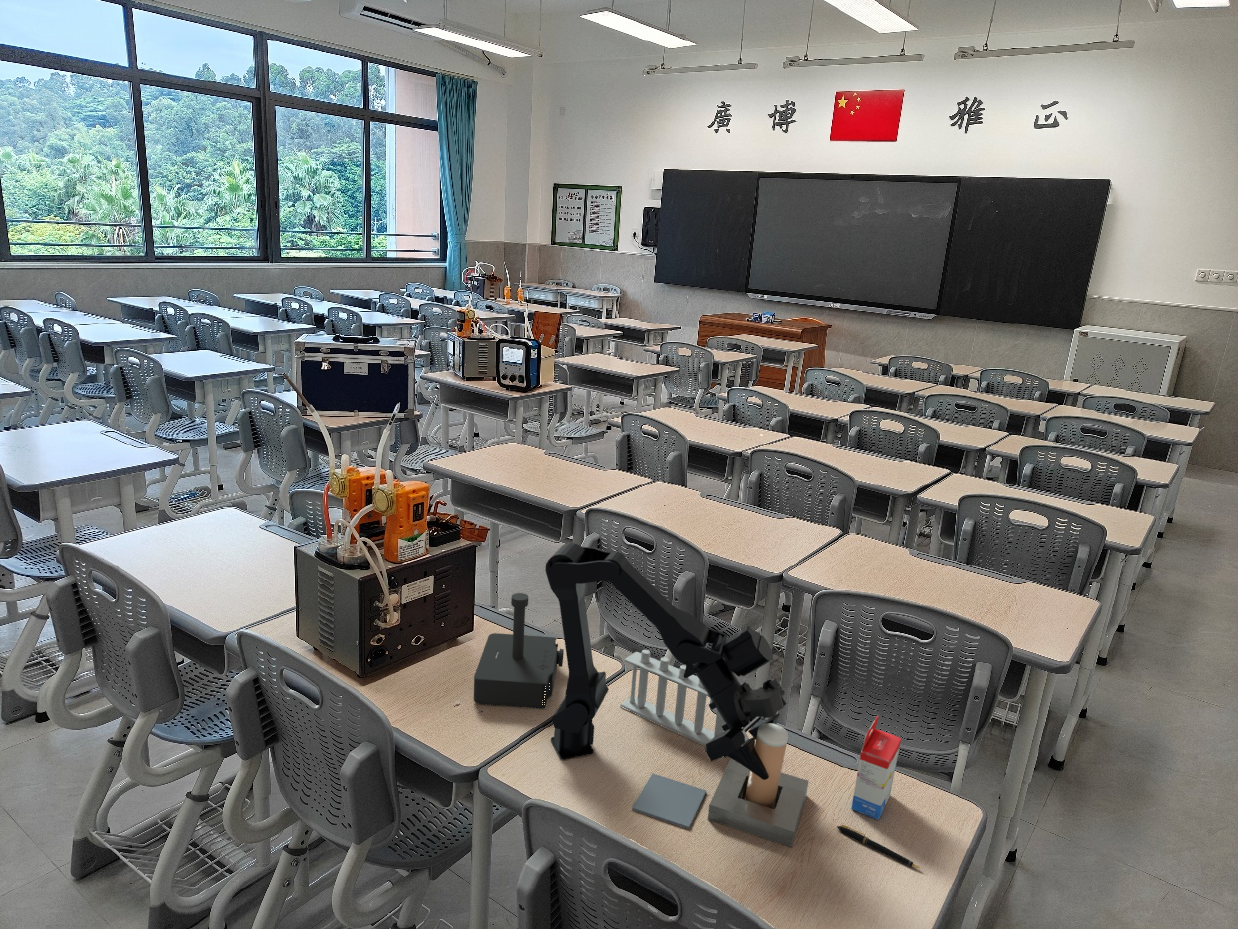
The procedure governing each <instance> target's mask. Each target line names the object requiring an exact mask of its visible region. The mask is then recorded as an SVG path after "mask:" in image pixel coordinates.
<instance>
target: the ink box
mask: <svg viewBox="0 0 1238 929" xmlns="http://www.w3.org/2000/svg"><path fill="white" fill-rule="evenodd" d="M879 718H880V717H879V715H877V716H876V717H875V719H874V721H873V722H872V724H871V725H870V727H869V729H868V730H867V732H866V733H865V735H864V739H863V742H862V746H861V751H860V756H859V761H858V762H859V763H858V767H857V774H856V780H855V786H854V789H853V790H854V791H853V797H852V803H851V808H850V809H851V810H853V811H855V812H858V813H861V814H863V815H865V816H868V817H870V818H873V819H875V820H877V821H879V820H880V817H881V815H882V813H883V811H884V809H885V807H886V805H887V802H888V801H889V798H890V797H891V794H892V787H893V783H894V778H895V772H896V767H897V762H898V758H899V752H900V746H901V743H902V742H901V741H902V738H901V737H899V736H896V735H894V734H891V733H888V732H886V731H883V730H880V729H877V726H878V723H879V722H878V721H879Z"/></svg>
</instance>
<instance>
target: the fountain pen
mask: <svg viewBox="0 0 1238 929" xmlns="http://www.w3.org/2000/svg"><path fill="white" fill-rule="evenodd" d="M836 828H837V829H838V831H839V832H841V833H842V834H844V835H846V836H847V837H849V838H851V839H853V840H855V841H856V842H859V843H860V844H862V845H864V846H866V847H867V846H868V847H869V848H871V849H872V850H875V851H876V852H878V853H880V854H883V855H885V856H887V857H890V858H892V859H893V860H896V861H897V862H900V863H902V864H904V865H906V866H909V867H911V868H912V867H914V868H915V869H920V870H922V867H920V866H919V865H916V864H914V861H912V860H910V859H908V858H906V857H904V856H903V855H901V854H899V853H897V852H895V851H893V850H891V849H889V847H886V846H885V845H882V844H880V843H878V842H876V841H874V840H872V839H870V838H869V837H867V836H866V833H864V832H862V831H859V830H857V829H854V828H852V827H850V826H848V825H846V824H845V825H844V824H841V825H837V826H836Z"/></svg>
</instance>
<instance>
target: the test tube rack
mask: <svg viewBox="0 0 1238 929" xmlns="http://www.w3.org/2000/svg"><path fill="white" fill-rule="evenodd" d="M669 660H670V659H669V658H668V657H666V656H664V657H660V660H658V659H656V658H654V657H651V651H650V650H649V649H643V650H642V651H641V652H638V651H635V652H633V653H632V654H630V655H629V656H627V657H626V658H624V662H626V663H628V664H631V665H632V678H631V689H630V697H628V698H627V699H626V700H624V701H623V702H622V703H620V706H622V707H624V708H626V709H628V710H630V711H632V712H634V713H636V714H638V715H640V716H639V717H641V716H642V717H641V718H643V717H644V718H643V719H645V718H646V719H645V720H647V719H649V720H651V721H653V722H652V723H654V722H655V723H654V724H656V723H657V724H656V725H658V724H659V725H658V726H660V725H662V726H664V727H666V728H665V729H667V730H669V729H670V731H671V730H672V731H671V732H673V731H674V732H673V733H675V732H676V734H677V733H679V734H678V735H680V734H681V735H680V736H682V735H683V736H682V737H684V736H685V738H686V737H687V739H688V740H690V739H691V741H693V742H695V743H698V744H699V745H702V746H704V747H705V746H706V744H707V743H708V742H709V741H710V740H711V739H712V738H714V737H715V736H716V735H718V734H720V733H722V732H724V730H723V728H722V727H721V726H722V725H724V724H725V722H724V720H723V718H722V717H721V715H720V713H719V712H718V710H717V709H716V716H715V725H714V730H711V729H709V728H707V727H705V726H704V722H705V711H706V706H707V704H706V703H707V697H709V698H710V696H709V695H708V693H707V692H706V690H705V688H704V687H703V685H702V683H701V682H700V680H699V678H698V677H697V675H696V674H695V675H694V674H693V675H691V676H690V677H688V678H684V672H685V669H686V664H682V665H679V666H680V667H679V668H677V667H675V666H673V665H671V664H670V661H669ZM638 668H639V677H638V678H639V680H638V689H637V696H636V684H637V675H638V674H637V673H638ZM649 673H652V674H654V675H657V676H658V681H657V682H658V683H657V691H656V692H657V694H656V700H655V701H656V702H655V704H653V703H651V702H649V701H647V696H648V695H647V693H648V684H649V683H648V682H649ZM668 681H670V682H673V683H676V684H677V689H676V690H677V691H676V701H675V702H676V703H675V710H674V711H675V712H674V713H673V712H671V711H669V710H666V709H665V707H666V695H667V685H668ZM687 689H689V690H692V691H694V692H697V694H696V695H697V696H696V706H695V715H694V722H693V721H691V720H689V719H686V718H684V715H685V706H686V696H687ZM620 706H619V707H620ZM628 710H627V711H628ZM630 711H629V712H630ZM632 712H631V713H632ZM634 713H633V714H634ZM636 714H635V715H636ZM638 715H637V716H638ZM649 720H648V721H649ZM651 721H650V722H651ZM662 726H661V727H662ZM664 727H663V728H664ZM727 757H728V756H727ZM728 758H729V757H728Z"/></svg>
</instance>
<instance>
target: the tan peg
mask: <svg viewBox="0 0 1238 929" xmlns="http://www.w3.org/2000/svg"><path fill="white" fill-rule="evenodd" d="M788 739H789V733H788V731H787V730H786V729H785V728H784V727H782V726H781V725H778V724H772V723H765V724H762V725H760V726H759V728H758V732H757V737H756V740H755V750H756V752H757V754H758V755H759V757H760V759H761V761H762V763H763V765H764V767H765V769H766V771H767V773H768V775H769V778H768V779H766V780H763V779H762V778H760V777H759V776H757V775H756V774H754V773H753V772H752V771H750V774H749V779H748V785H747V790H745V796H744V800H746V801H749V802H753V803H756V804H759V805H762V806H765V807H768V808H771V809H774V810H775V804H776V800H775V799H776V794H777V789H778V785H779V780H780V775H781V773H782V769H783V765H784V762H783V761H785V760H784V759H785V755H786V749H787V744H788Z"/></svg>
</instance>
